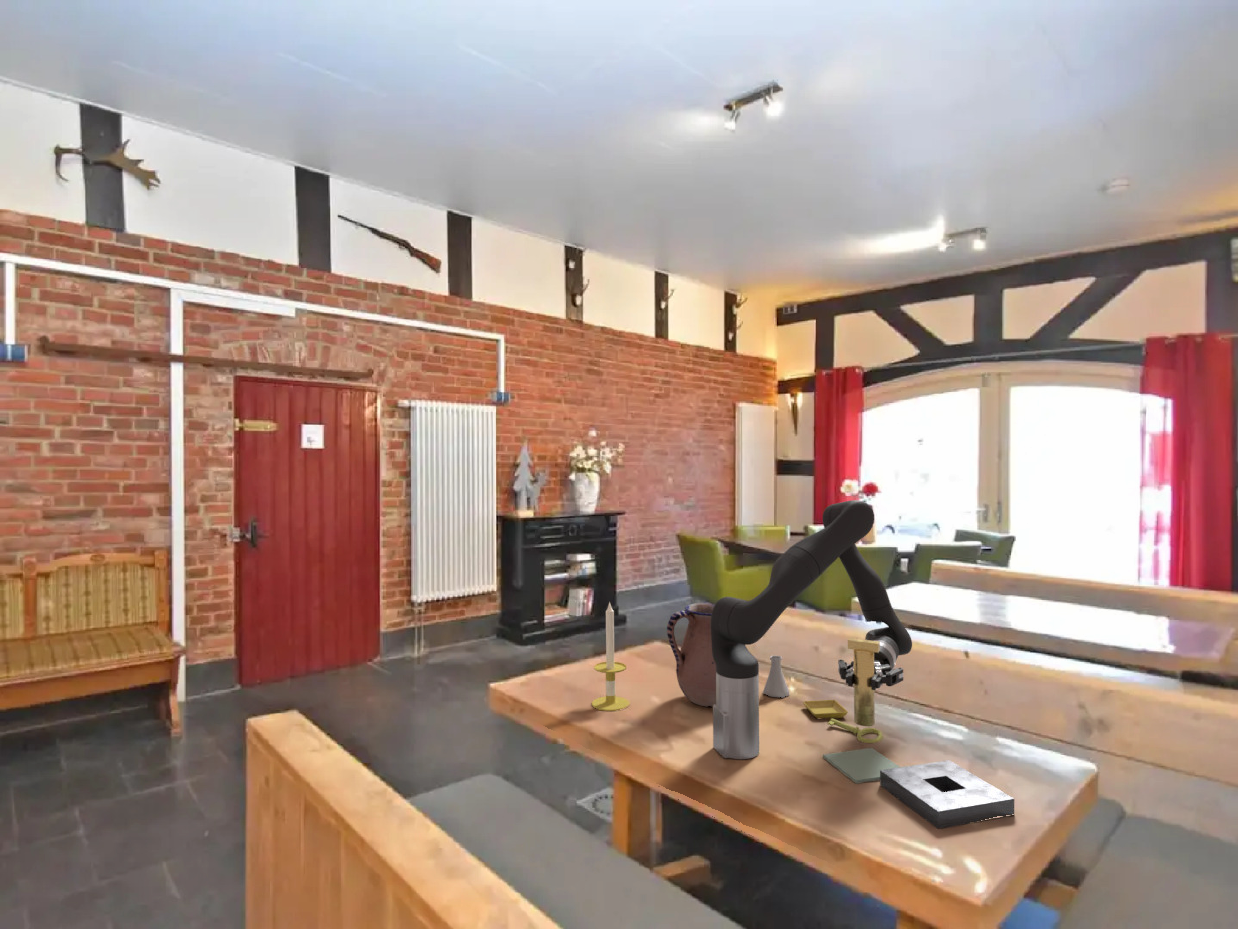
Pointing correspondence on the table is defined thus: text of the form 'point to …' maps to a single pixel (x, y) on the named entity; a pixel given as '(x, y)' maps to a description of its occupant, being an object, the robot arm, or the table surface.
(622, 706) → the candle
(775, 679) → the flask
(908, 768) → the cover plate
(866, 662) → the t key
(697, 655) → the ceramic pitcher
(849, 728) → the key
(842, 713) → the yellow square tray
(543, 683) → the table surface
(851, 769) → the mat
